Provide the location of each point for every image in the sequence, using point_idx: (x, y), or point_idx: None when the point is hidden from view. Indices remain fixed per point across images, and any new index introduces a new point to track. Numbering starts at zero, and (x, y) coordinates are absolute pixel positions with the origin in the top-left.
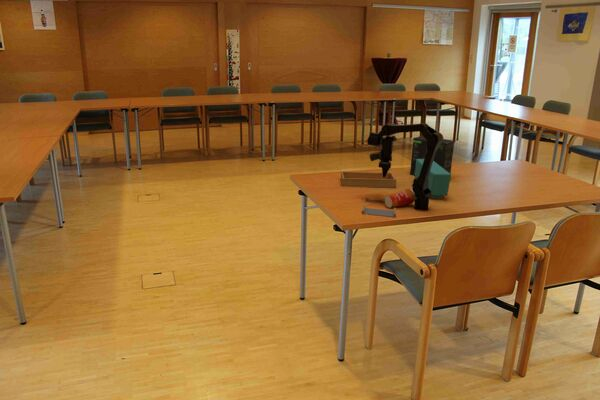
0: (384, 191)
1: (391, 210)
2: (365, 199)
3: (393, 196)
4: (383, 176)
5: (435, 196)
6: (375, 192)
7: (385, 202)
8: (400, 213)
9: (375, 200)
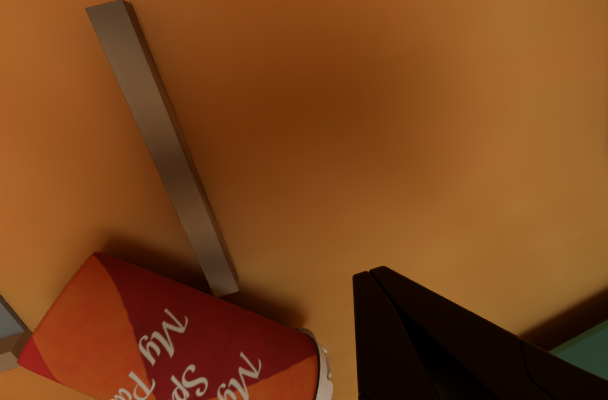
0: (519, 98)
1: (13, 319)
2: (90, 12)
3: (62, 382)
4: (353, 292)
5: None
6: (468, 26)
7: (93, 255)
8: (21, 375)
9: (143, 132)
